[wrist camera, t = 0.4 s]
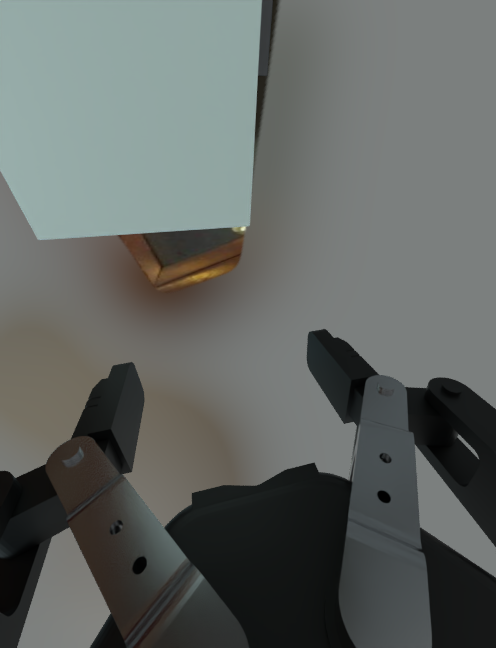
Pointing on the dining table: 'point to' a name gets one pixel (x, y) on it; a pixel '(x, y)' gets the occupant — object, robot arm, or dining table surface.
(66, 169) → the desk
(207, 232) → the dining table surface
